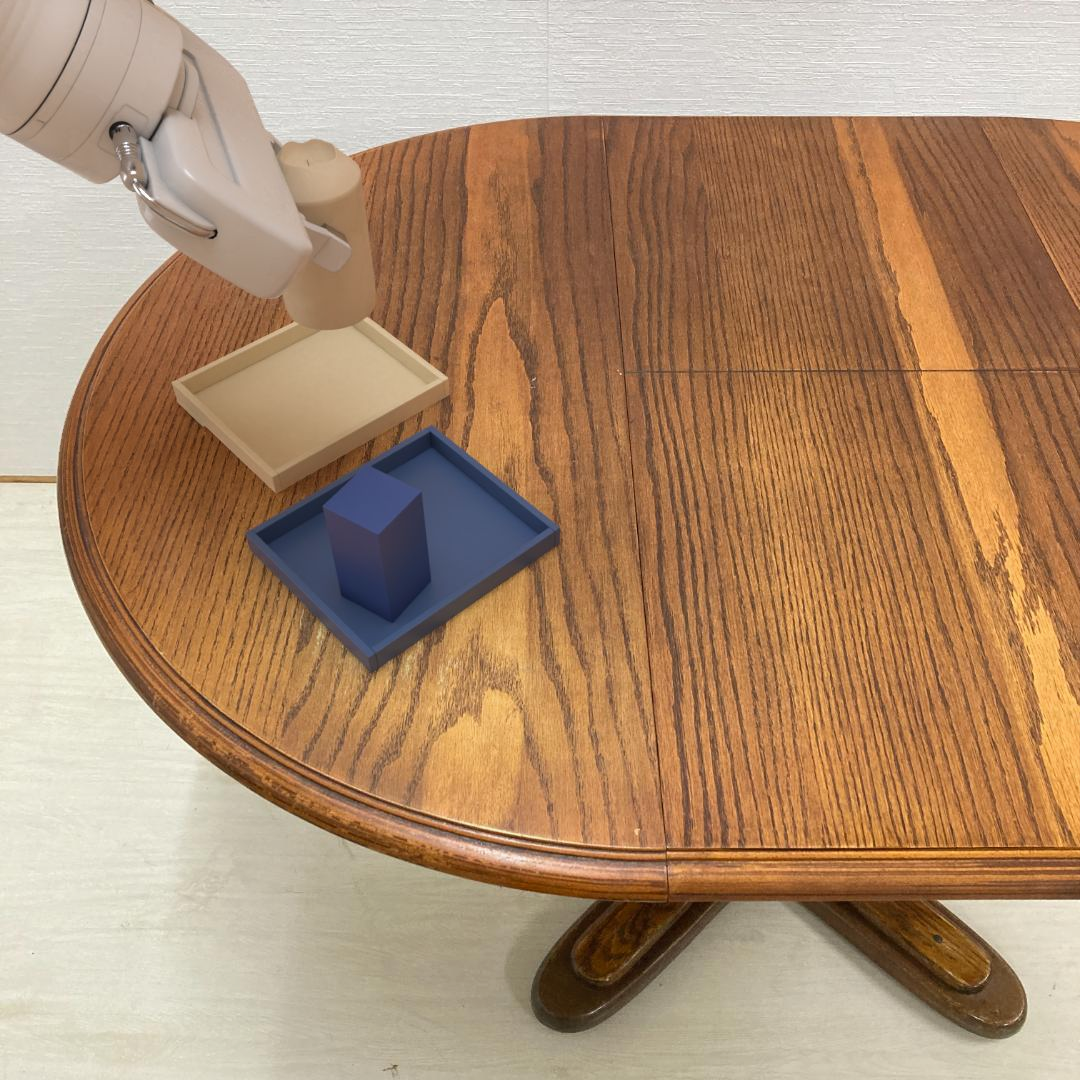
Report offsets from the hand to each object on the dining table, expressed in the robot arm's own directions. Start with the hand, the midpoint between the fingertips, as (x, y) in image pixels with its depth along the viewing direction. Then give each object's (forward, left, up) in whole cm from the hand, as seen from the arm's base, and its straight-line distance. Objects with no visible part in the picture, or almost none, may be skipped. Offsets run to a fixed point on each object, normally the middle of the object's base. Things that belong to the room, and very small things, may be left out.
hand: (328, 223), depth 63 cm
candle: (-1, 0, -6) cm, 6 cm away
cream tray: (+1, +7, -18) cm, 20 cm away
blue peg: (-6, -11, -18) cm, 22 cm away
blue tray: (-3, -9, -18) cm, 21 cm away
